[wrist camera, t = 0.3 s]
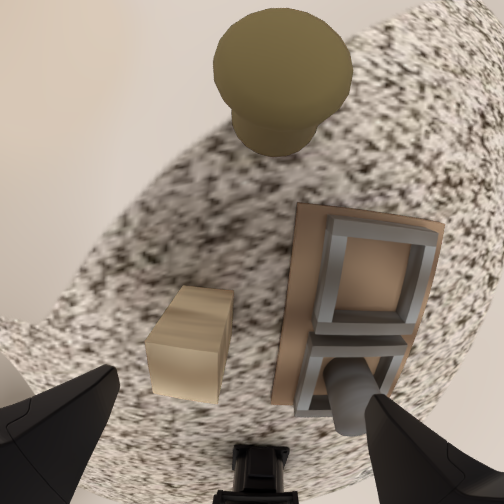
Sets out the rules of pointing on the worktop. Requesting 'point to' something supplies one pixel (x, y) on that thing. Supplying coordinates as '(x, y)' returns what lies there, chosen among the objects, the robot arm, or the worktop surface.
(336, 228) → the board
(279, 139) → the olive green peg figure
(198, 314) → the maple pin
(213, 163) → the worktop surface
